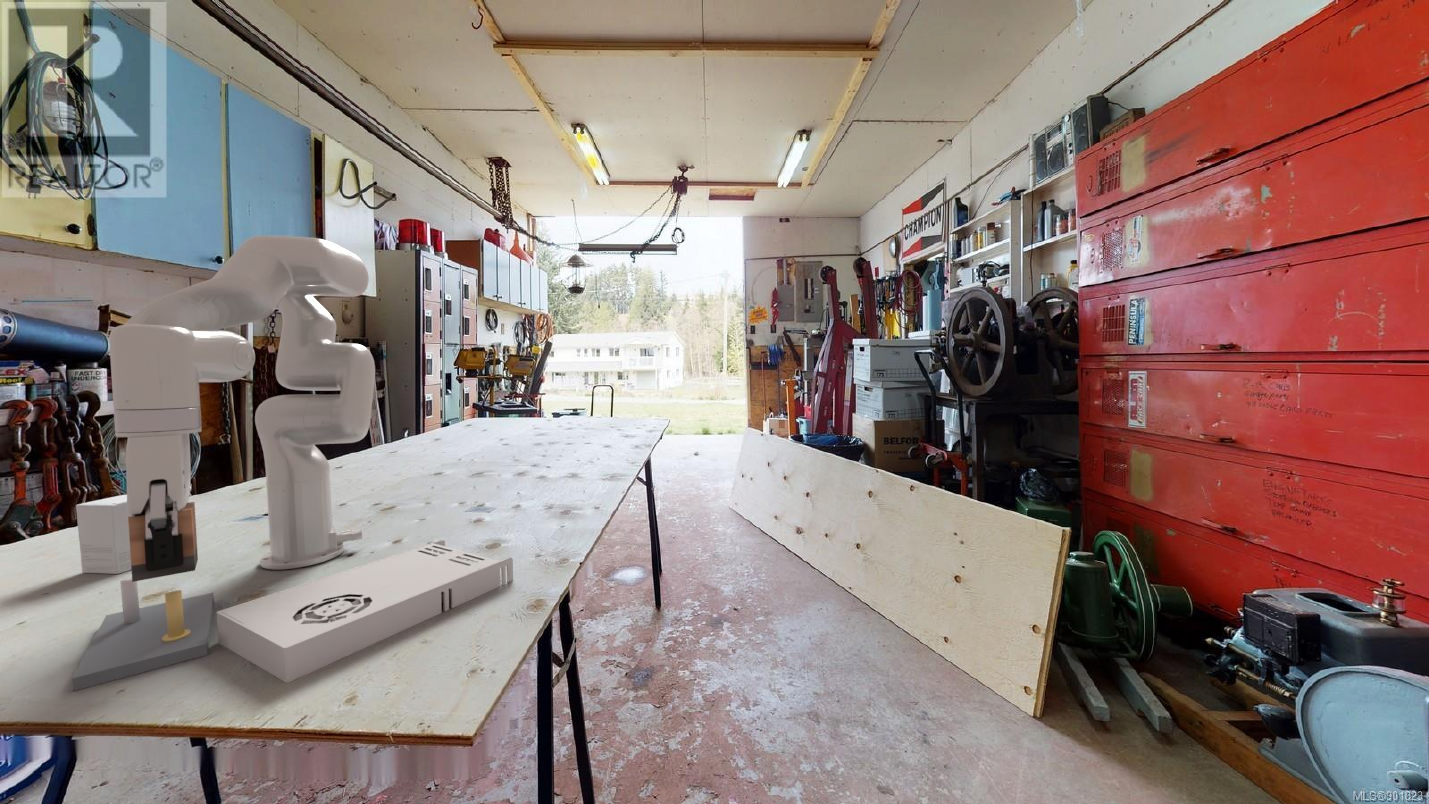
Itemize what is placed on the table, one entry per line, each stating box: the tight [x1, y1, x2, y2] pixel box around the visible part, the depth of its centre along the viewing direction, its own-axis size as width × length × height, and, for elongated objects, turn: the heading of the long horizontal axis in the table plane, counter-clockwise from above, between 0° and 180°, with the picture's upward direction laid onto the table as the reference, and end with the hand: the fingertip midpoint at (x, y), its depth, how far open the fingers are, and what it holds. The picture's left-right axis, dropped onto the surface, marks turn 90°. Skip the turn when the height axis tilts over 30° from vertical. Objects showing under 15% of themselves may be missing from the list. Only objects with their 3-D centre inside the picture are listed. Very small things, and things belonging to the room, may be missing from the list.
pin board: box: [71, 577, 215, 692], centre depth 70 cm, size 11×20×8 cm, turn 42°
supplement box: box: [75, 494, 132, 575], centre depth 95 cm, size 7×7×13 cm
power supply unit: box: [216, 539, 514, 683], centre depth 79 cm, size 19×33×5 cm, turn 152°
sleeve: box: [128, 501, 199, 582], centre depth 66 cm, size 5×5×8 cm
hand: (168, 560), depth 67 cm, fingers closed on sleeve, 5 cm apart
